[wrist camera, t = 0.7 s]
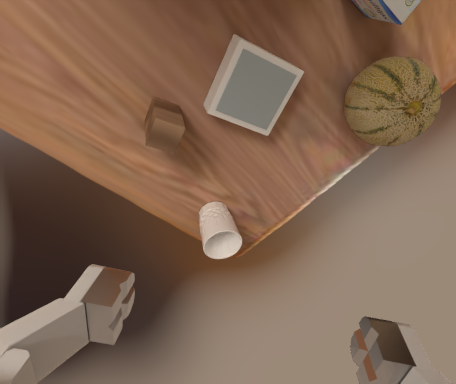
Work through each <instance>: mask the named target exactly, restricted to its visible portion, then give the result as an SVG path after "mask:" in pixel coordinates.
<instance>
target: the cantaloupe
mask: <svg viewBox="0 0 456 384" xmlns="http://www.w3.org/2000/svg"><path fill="white" fill-rule="evenodd" d="M440 91H441V87H440V84H439V82H438V80H437V78H436V77H435V75H434V73H433V72H432V70H431V68H430V67H428V66H427V65H426V64H425V63H423V62H422V61H420V60H418V59H415V58H410V57H389V58H383V59H380V60H378V61H376V62H374V63H373V64H371V65H370V66H368V67H366V68H364V69H363V70H362V71H361V72H360V73H359V74H358V75H357V76H355V78H354V79H353V81H352V83H351V84H350V86H349V87H348V90H347V92H346V96H345V100H344V103H345V106H344V112H345V118H346V120H347V122H348V124H349V126H350V127H351V128H352V131H353V132H354V133H355V134H356V135H357V136H358V137H359V138H361V139H362V140H364V141H365V142H367V143H369V144H373V145H382V146H396V145H400V144H403V143H406V142H408V141H410V140H412V139H413V138H415V137H416V136H418V135H420V134H421V133H423V132H424V131H426V130H427V129H428V127H429V126H431V124H432V123H433V121H434V119H435V118H436V114H437V112H438V110H439V108H440V103H441V92H440Z"/></svg>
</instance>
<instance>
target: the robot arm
mask: <svg viewBox="0 0 456 384" xmlns="http://www.w3.org/2000/svg"><path fill="white" fill-rule="evenodd" d="M134 281H135V279H134V273H132V272H127V271H123V270H118V269H113V268H109V267H103V266H98V265H94V264H92V265H90V266H89V267H88V268H87V269H86V270H85V272H84V273H83V274H82V276H81V277H80V278H79V280H78V281H77V282H76V284H75V285H74V286H73V287H72V289H71V290H70V292H69V293H68V294H67V296H66V297H65V298H64V299H61V298H59V299H57V300H55V301H53V302H52V303H49V304H47V305H45V306H44V307H42V308H40V309H38V310H36V311H34V312H32V313H30V314H28V315H26V316H24V317H22V318H20V319H18V320H16V321H14V322H13V323H11V324H9V325H7V326H5V327H3V328H1V329H0V384H37V383H38V382H39V381H40V380H41V379H43V378H44V377H45V376H47V375H48V374H49V373H50V372H52V371H53V370H54V369H56V368H57V367H58V366H59V365H61V364H62V363H63V362H64V361H65V360H67V359H68V358H70V357H71V356H72V355H73V354H75V353H76V352H77V351H78V350H80V349H81V348H82V347H83V346H85V345H86V344H87V343H88V342H89V341H94V342H100V343H106V344H112V345H114V344H115V342H116V340H117V337H118V335H119V334H120V331H121V329H122V320H123V319H125V318H126V317H128V315H129V313H130V310H131V308H132V305H133V301H134V295H135V290H134V288H133V287H132V285H133V283H134ZM359 325H360V328H361V329H359V330H357V331H355V332H354V334H353V336H352V338H351V345H350V347H351V355H352V359H353V361H354V362H355V363H356V364H357V366H358V367H359V369H358V371H357V373H356V374H357V377H358V381H359V384H452V383H451V382H450V381H449V380H447V379H446V378H445V377H444V376H443V375H442V374H441V373H440V372H438V371H434V369H433V367H432V365H431V363H430V361H429V359H428V357H427V355H426V353H425V351H424V349H423V347H422V345H421V343H420V341H419V339H418V338H417V335H416V333H415V331H414V330H413V328H412V327H411V326H410V325H409V324H404V323H399V322H392V321H387V320H382V319H377V318H371V317H366V316H365V317H363V318H362V319H361V321H360V322H359Z"/></svg>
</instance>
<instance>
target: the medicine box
mask: <svg viewBox="0 0 456 384" xmlns="http://www.w3.org/2000/svg"><path fill="white" fill-rule="evenodd" d="M351 1H352V2H353V3H354V4H355V5H356V6H357V7H358V8H359V9H360V11H361V12H362V13H363V14H364V15H365V16H366V17H368V18H372V19H377V20H381V21H386V22H390V23H394V24H399V25H401V24H402V23H403V22H404V21H405V20H406V18H407V17H408V16H409V15H410V14H411V12H412V11H413V10H414V9H415V8H416V6H417V5H418V4H419V3H420V1H421V0H351Z"/></svg>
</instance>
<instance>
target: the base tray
mask: <svg viewBox="0 0 456 384" xmlns="http://www.w3.org/2000/svg"><path fill="white" fill-rule="evenodd" d="M303 73H304V71H302V70H301V69H299V68H298V67H296V66H295V65H293V64H291V63H289V62H287V61H285V60H283V59H282V58H280V57H278V56H276V55H274V54H272V53H270V52H268V51H266V50H264V49H263V48H261V47H259V46H257V45H255V44H253V43H251V42H249V41H247V40H245V39H243V38H242V37H240V36H238V35H236V34H233V37H232V39H231V41H230V44H229V46H228V48H227V51H226V53H225V55H224V57H223V60H222V62H221V64H220V67H219V69H218V71H217V74H216V76H215V78H214V81H213V83H212V85H211V88H210V90H209V92H208V95H207V97H206V99H205V102H204V104H203V105H204V107H205V109H206V111H207V113H208V114H211V115H213V116H216V117H219V118H221V119H224V120H227V121H229V122H232V123H235V124H237V125H240V126H242V127H245V128H248V129H250V130H253V131H256V132H258V133H261V134H264V135H266V136H268V135H269V133H270V131H271V130H272V128H273V126H274V124H275V123H276V121H277V119H278V117H279V116H280V114H281V112H282V110H283V109H284V107H285V105H286V103H287V102H288V100H289V98H290V96H291V95H292V93H293V91H294V89H295V87H296V86H297V84H298V82H299V80H300V79H301V77H302V75H303Z"/></svg>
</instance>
